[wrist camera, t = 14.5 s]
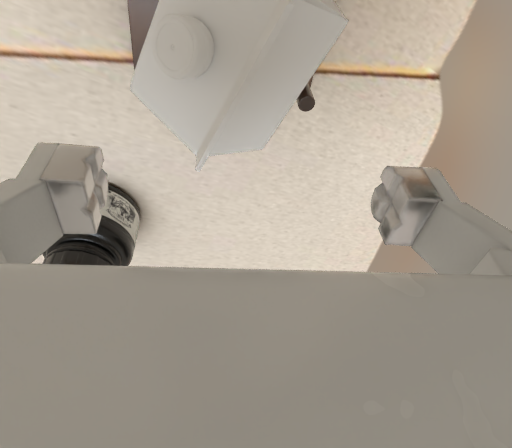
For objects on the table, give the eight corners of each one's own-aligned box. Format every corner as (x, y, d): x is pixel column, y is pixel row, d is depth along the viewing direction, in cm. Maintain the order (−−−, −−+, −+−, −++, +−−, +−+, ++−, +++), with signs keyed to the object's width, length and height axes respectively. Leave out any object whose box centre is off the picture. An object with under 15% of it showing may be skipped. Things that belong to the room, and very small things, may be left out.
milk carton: (298, -50, 26) (378, 59, 13) (248, 44, 31) (269, 200, 17) (203, -118, 24) (181, -69, 10) (163, -5, 28) (109, 137, 14)
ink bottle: (159, 220, 45) (145, 307, 37) (103, 247, 48) (78, 334, 40) (97, 163, 39) (62, 252, 31) (37, 198, 42) (-10, 289, 33)
